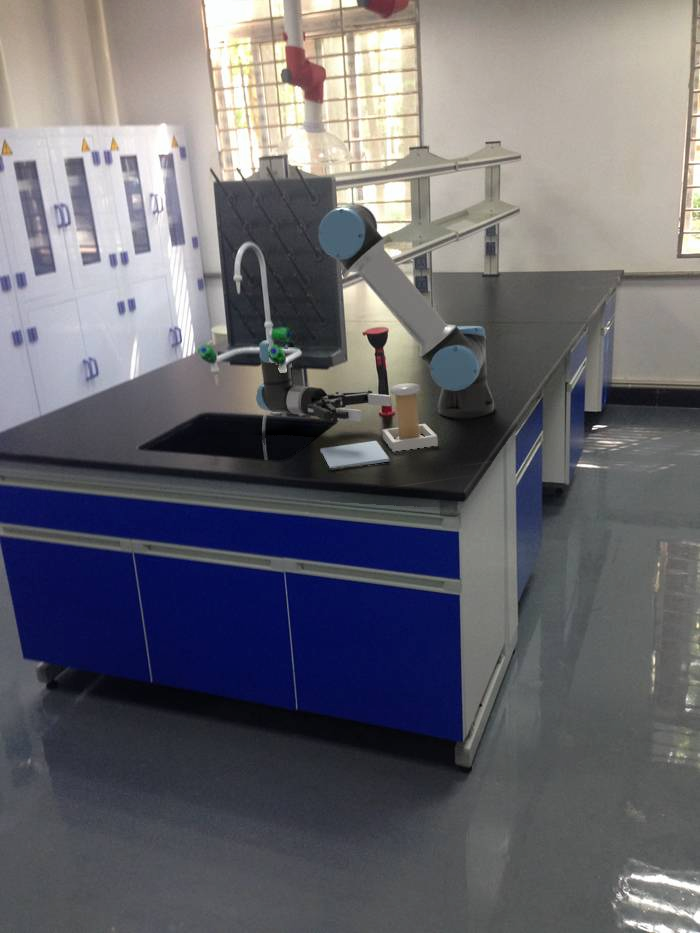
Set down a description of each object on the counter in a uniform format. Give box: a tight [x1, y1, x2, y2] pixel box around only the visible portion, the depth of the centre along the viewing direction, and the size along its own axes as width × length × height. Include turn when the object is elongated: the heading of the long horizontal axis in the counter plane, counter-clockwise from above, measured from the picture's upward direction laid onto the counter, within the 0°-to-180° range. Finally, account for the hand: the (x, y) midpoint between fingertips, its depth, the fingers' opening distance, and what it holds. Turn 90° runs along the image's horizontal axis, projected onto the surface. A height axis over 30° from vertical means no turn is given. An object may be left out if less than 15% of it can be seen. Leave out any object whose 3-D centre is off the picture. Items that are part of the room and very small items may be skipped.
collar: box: [382, 423, 439, 453], centre depth 205 cm, size 11×11×2 cm
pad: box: [319, 440, 390, 469], centre depth 198 cm, size 14×14×1 cm
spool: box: [390, 382, 424, 441], centre depth 202 cm, size 7×7×14 cm
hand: (376, 408), depth 207 cm, fingers open, 13 cm apart
